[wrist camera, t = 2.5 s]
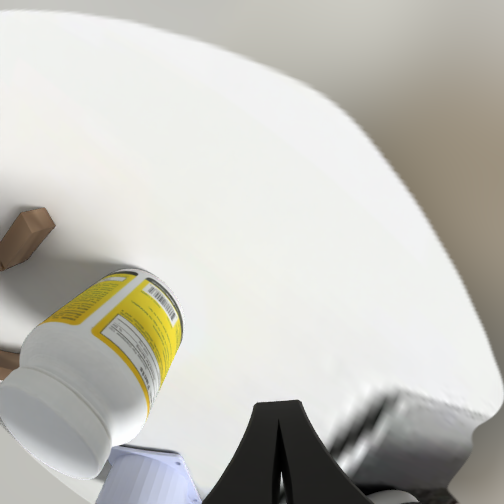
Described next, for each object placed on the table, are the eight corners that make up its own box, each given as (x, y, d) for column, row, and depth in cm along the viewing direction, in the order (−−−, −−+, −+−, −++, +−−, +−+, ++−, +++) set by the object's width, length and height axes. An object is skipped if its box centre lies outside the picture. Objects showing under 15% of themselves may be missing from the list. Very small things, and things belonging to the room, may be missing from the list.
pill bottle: (92, 334, 18) (-4, 438, 7) (105, 251, 17) (-34, 330, 6) (175, 370, 18) (117, 509, 8) (199, 288, 17) (124, 430, 6)
